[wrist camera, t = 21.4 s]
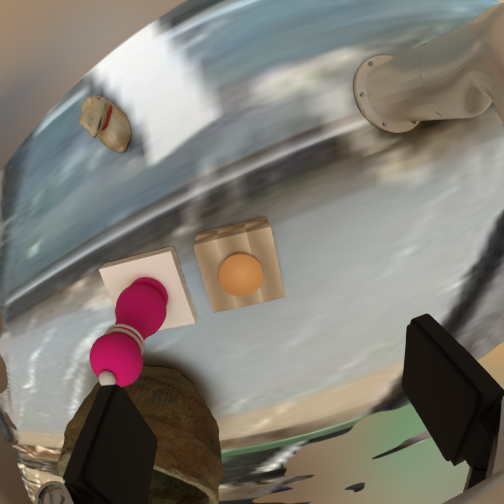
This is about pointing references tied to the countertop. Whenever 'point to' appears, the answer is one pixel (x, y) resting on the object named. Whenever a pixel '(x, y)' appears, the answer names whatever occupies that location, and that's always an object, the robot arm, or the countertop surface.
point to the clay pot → (168, 437)
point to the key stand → (231, 242)
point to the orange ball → (240, 274)
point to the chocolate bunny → (106, 122)
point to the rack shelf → (161, 269)
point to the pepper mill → (129, 332)
